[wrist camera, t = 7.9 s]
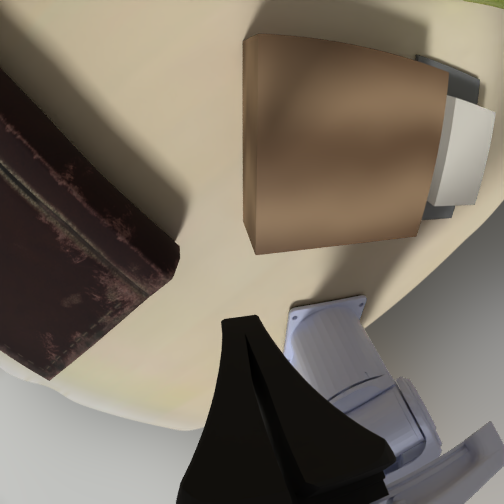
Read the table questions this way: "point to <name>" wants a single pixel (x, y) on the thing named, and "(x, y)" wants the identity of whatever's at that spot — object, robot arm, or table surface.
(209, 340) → the table surface
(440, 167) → the off-white rectangular block
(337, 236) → the brown shallow square box
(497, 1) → the plant pot
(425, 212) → the mat
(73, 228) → the diary
